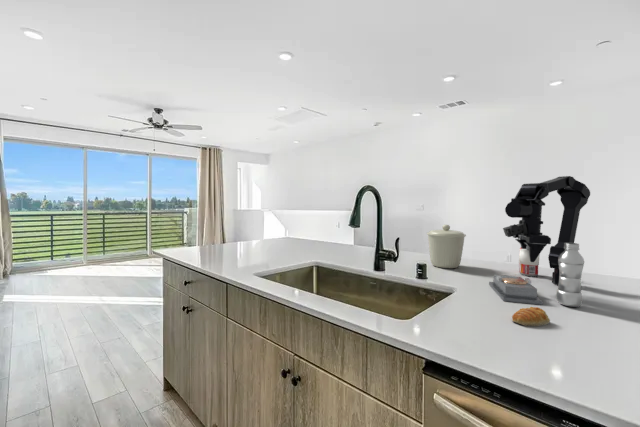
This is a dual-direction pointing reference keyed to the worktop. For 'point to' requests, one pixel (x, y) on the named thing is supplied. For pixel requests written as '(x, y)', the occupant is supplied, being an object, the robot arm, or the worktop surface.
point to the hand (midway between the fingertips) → (528, 260)
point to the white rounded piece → (527, 257)
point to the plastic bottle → (570, 276)
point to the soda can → (528, 269)
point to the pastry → (531, 317)
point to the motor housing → (515, 289)
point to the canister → (445, 247)
